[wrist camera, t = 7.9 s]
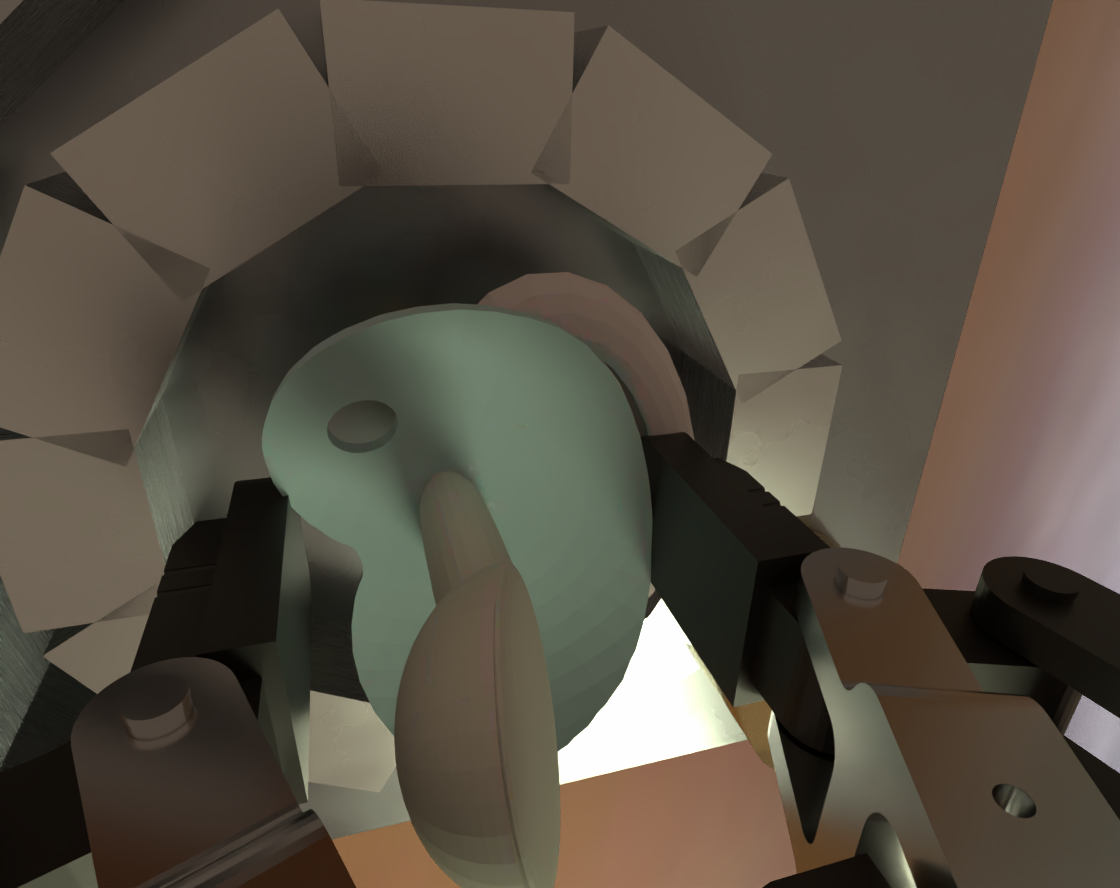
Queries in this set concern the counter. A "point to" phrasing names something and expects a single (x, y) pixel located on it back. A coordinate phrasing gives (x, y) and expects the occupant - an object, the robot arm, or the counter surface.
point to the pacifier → (487, 541)
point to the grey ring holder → (466, 281)
